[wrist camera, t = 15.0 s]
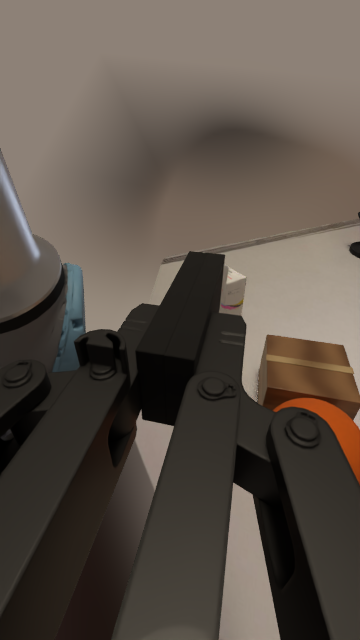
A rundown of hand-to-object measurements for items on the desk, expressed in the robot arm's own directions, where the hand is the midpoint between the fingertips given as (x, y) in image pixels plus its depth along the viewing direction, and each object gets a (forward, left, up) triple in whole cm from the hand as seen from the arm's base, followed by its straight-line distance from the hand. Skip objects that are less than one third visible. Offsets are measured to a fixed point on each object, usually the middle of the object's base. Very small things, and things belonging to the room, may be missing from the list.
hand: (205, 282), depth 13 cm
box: (+8, +23, -30) cm, 39 cm away
